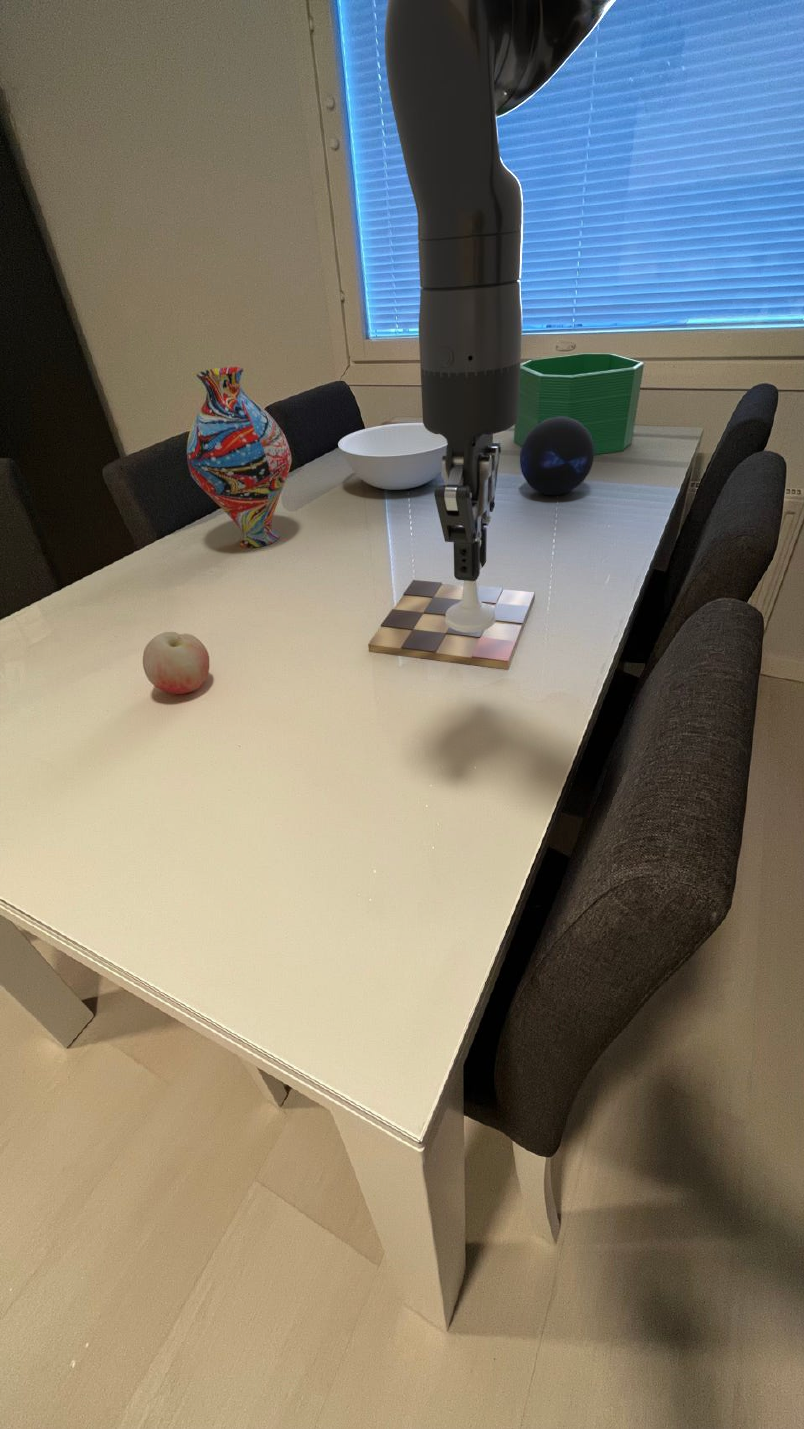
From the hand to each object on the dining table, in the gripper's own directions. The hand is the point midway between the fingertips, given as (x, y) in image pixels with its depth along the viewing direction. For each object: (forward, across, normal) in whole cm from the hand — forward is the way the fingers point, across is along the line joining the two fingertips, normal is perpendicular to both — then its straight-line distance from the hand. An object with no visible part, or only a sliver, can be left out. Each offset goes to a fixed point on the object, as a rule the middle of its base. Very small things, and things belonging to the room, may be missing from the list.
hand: (470, 571), depth 56 cm
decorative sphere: (+21, +83, +2) cm, 86 cm away
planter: (+21, +122, +2) cm, 124 cm away
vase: (+21, +50, +56) cm, 78 cm away
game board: (+21, +25, +8) cm, 34 cm away
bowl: (+21, +86, +38) cm, 97 cm away
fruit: (+21, +2, +40) cm, 46 cm away
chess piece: (+5, 0, 0) cm, 5 cm away
